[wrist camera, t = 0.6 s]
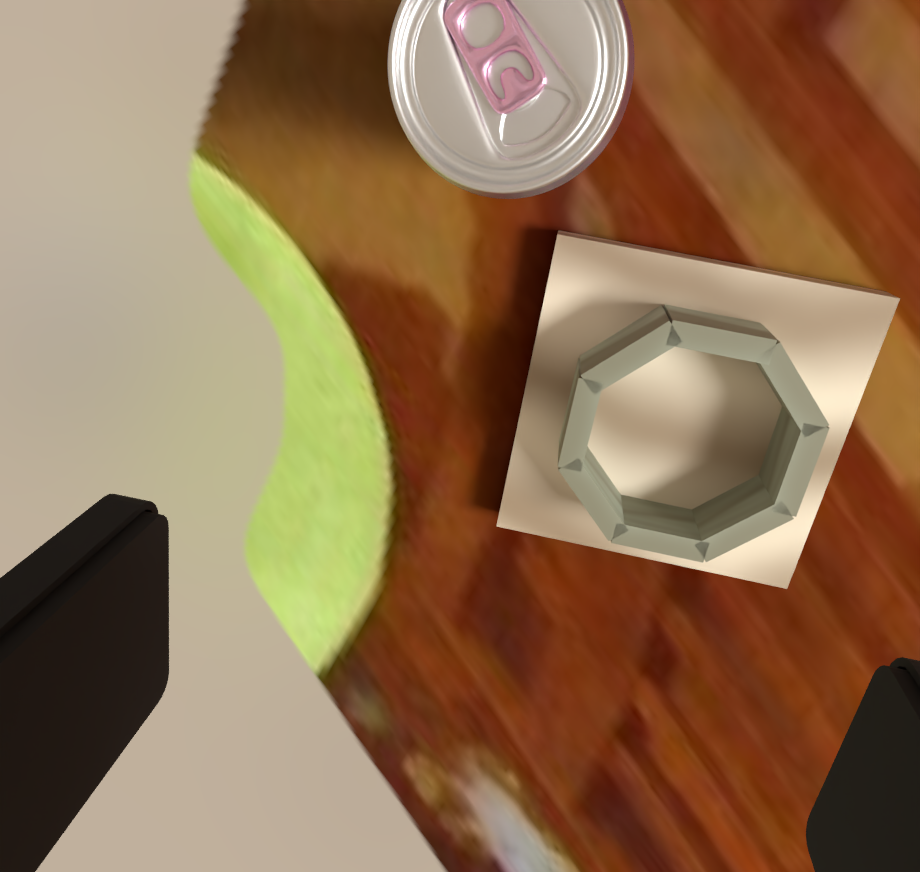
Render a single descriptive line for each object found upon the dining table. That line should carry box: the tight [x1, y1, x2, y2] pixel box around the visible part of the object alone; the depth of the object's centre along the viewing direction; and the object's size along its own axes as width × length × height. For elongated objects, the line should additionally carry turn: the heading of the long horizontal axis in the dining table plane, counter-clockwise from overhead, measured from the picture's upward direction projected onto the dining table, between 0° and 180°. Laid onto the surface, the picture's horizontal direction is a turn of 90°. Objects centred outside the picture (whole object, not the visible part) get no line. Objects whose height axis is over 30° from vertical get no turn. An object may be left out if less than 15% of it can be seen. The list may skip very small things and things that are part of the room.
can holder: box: [497, 230, 900, 589], centre depth 33 cm, size 14×14×4 cm
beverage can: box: [388, 0, 634, 199], centre depth 25 cm, size 6×6×15 cm
